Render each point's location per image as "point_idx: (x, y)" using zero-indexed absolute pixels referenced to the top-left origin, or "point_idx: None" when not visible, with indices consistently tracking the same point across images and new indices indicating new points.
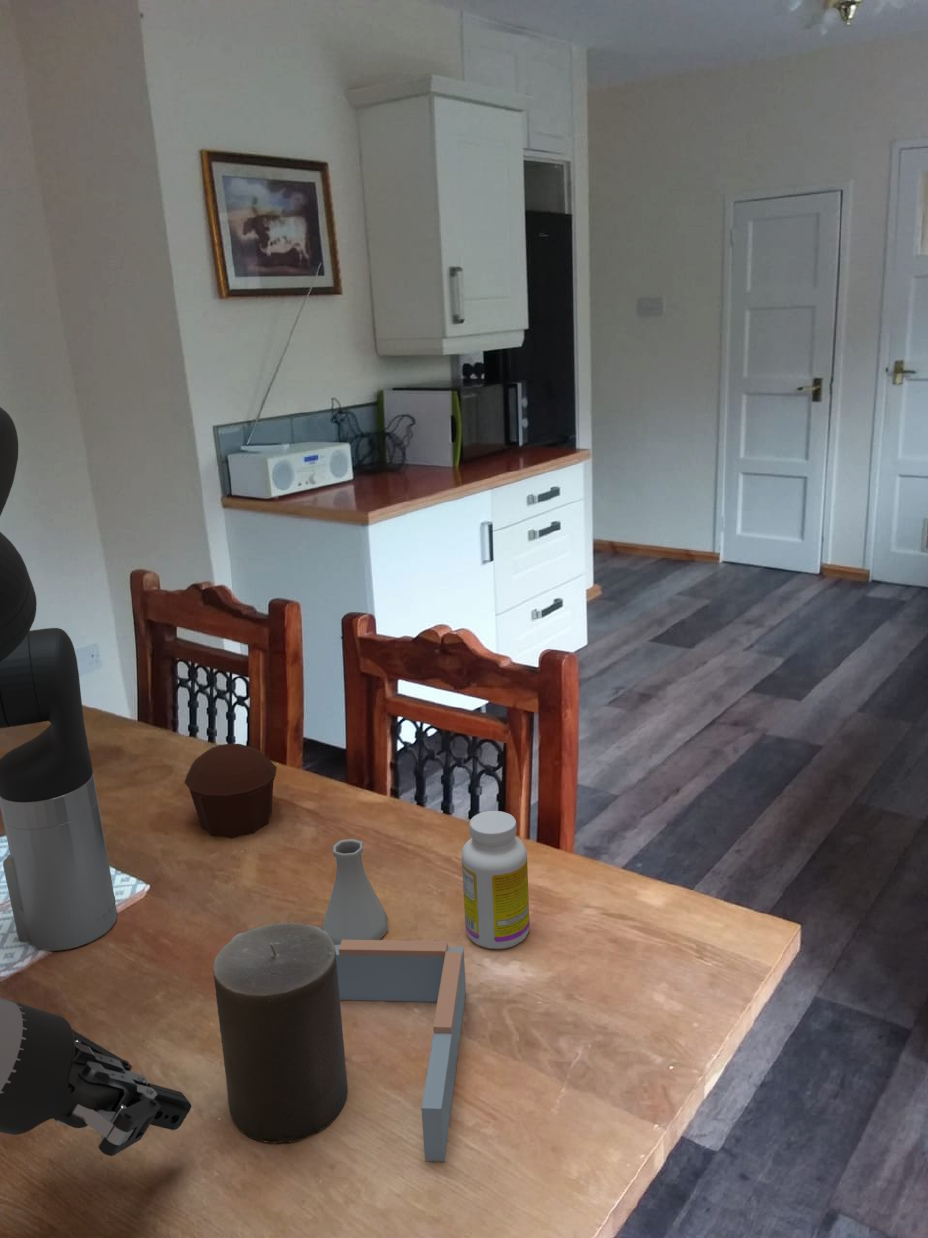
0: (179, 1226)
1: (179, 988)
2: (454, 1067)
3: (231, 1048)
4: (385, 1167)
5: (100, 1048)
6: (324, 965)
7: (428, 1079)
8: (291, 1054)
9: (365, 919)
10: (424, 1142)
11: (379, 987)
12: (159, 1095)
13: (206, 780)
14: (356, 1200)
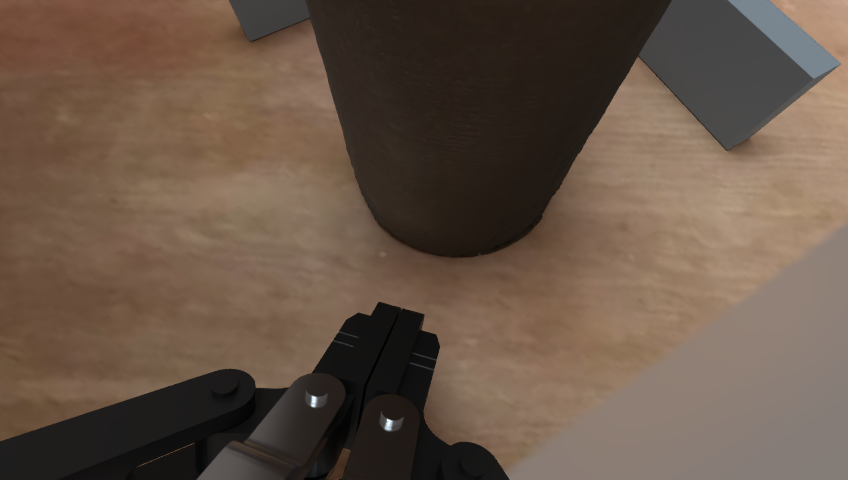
0: (509, 464)
1: (89, 87)
2: None
3: (457, 158)
4: (689, 187)
5: (92, 430)
6: None
7: (763, 26)
8: (611, 99)
9: None
10: (753, 127)
11: None
12: (397, 384)
13: None
14: (706, 254)
